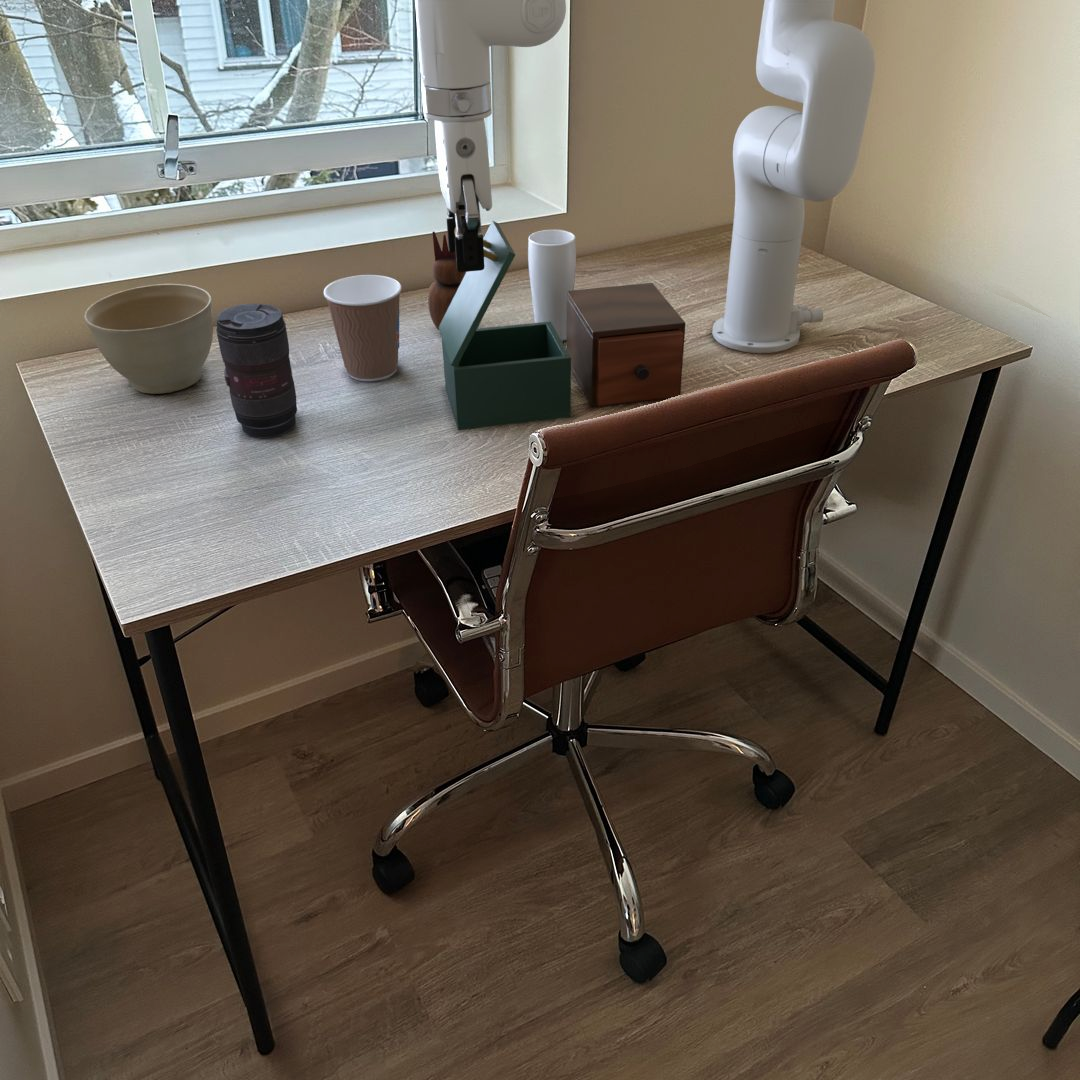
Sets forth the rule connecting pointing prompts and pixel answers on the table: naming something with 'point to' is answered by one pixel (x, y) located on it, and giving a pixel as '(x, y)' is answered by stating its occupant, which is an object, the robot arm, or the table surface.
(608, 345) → the drawer
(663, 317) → the cabinet
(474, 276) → the lid
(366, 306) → the coffee cup
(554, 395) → the chest
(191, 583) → the table surface
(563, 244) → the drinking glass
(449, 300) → the wooden figurine
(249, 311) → the camera lens
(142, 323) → the planter bowl
